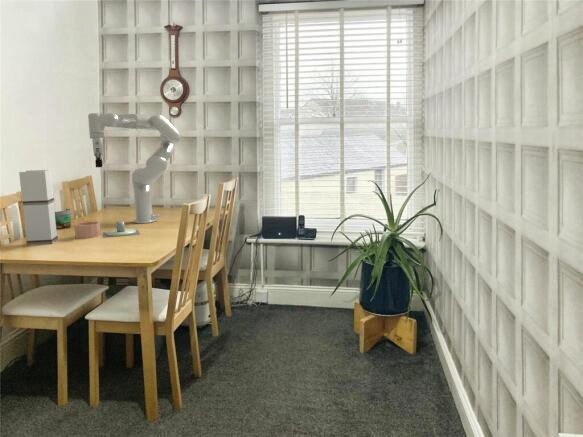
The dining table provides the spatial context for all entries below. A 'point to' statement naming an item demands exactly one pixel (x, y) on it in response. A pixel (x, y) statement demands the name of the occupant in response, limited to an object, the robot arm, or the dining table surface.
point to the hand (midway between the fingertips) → (99, 166)
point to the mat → (118, 236)
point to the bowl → (87, 229)
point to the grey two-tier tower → (38, 206)
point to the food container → (63, 219)
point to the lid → (120, 230)
